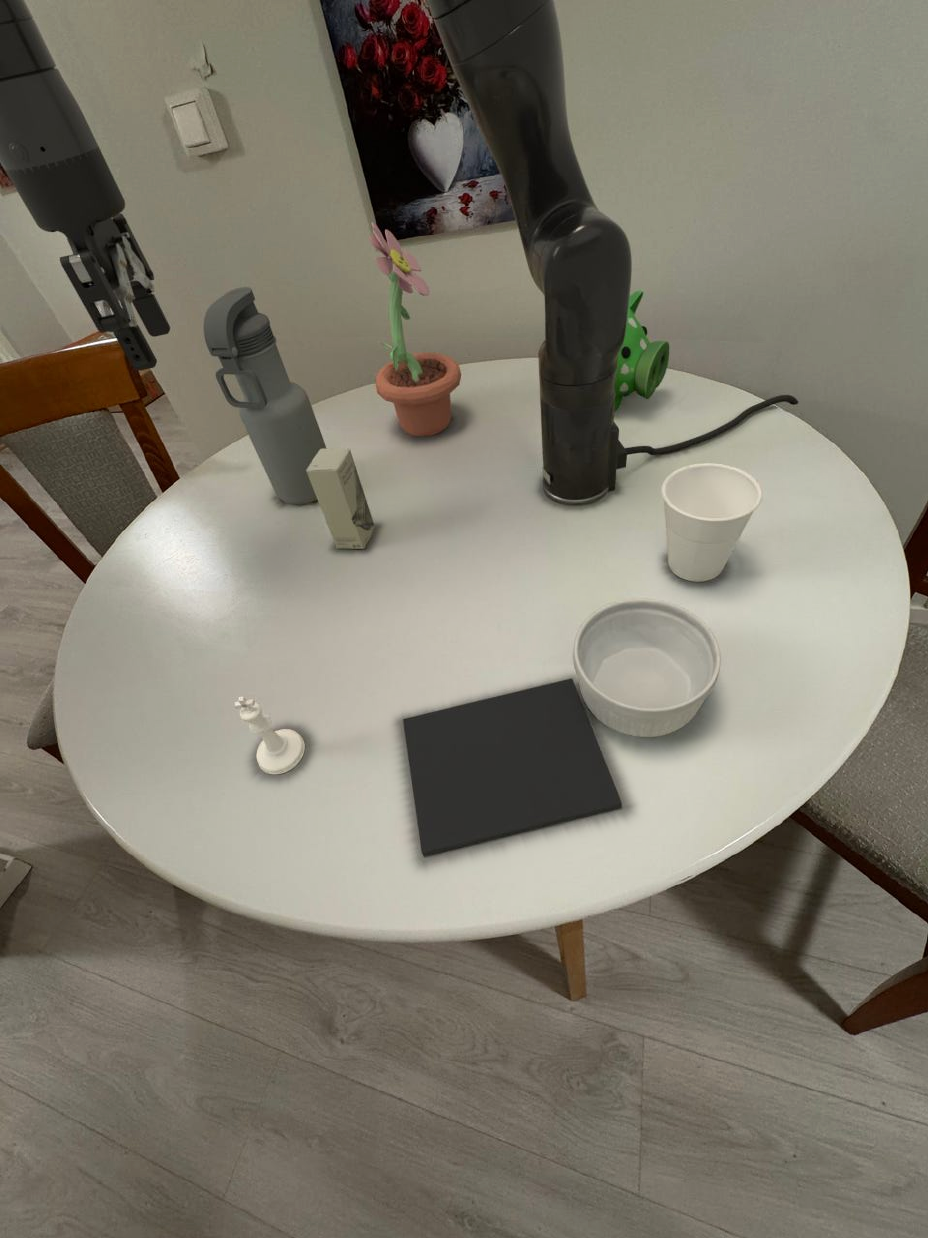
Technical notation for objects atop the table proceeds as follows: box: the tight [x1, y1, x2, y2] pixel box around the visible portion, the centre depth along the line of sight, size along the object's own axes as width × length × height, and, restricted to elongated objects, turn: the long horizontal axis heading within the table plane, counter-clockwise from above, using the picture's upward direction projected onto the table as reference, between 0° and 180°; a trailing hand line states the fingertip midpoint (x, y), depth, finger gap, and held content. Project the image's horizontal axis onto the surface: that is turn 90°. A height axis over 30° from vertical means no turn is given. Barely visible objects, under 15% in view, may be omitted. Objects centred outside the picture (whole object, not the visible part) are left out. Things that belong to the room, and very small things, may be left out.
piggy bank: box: [614, 290, 670, 414], centre depth 91 cm, size 14×18×15 cm
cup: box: [661, 462, 763, 583], centre depth 65 cm, size 10×10×11 cm
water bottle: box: [203, 286, 328, 505], centre depth 81 cm, size 10×10×28 cm
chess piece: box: [234, 696, 306, 775], centre depth 56 cm, size 5×5×10 cm
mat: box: [402, 678, 623, 857], centre depth 56 cm, size 18×14×1 cm
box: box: [306, 447, 376, 550], centre depth 77 cm, size 5×4×13 cm
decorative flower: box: [369, 221, 462, 437], centre depth 88 cm, size 15×14×30 cm
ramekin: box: [572, 598, 722, 738], centre depth 56 cm, size 13×13×7 cm
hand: (154, 349), depth 60 cm, fingers open, 8 cm apart
